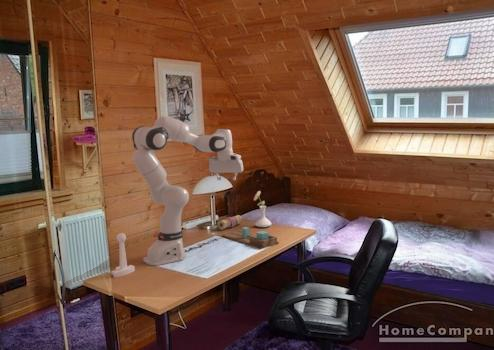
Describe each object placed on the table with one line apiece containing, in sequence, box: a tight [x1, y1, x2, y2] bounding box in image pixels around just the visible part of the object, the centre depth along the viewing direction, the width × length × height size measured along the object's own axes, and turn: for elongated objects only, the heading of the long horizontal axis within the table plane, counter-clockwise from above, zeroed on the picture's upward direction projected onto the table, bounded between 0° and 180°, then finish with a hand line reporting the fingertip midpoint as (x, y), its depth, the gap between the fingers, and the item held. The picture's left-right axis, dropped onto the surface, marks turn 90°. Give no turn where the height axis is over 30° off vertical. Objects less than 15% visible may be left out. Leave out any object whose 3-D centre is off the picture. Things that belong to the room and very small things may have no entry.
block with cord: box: [241, 226, 270, 241], centre depth 247 cm, size 5×19×6 cm, turn 41°
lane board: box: [221, 230, 279, 250], centre depth 251 cm, size 14×36×4 cm, turn 41°
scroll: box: [217, 214, 243, 231], centre depth 281 cm, size 8×8×20 cm
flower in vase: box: [253, 190, 273, 228], centre depth 280 cm, size 13×11×25 cm
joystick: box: [110, 232, 136, 278], centre depth 202 cm, size 11×8×20 cm
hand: (226, 180), depth 243 cm, fingers open, 8 cm apart
